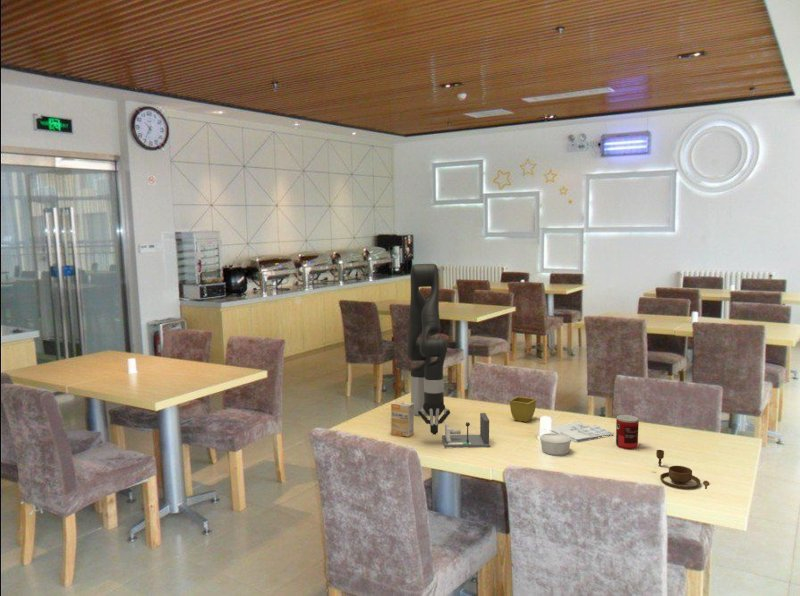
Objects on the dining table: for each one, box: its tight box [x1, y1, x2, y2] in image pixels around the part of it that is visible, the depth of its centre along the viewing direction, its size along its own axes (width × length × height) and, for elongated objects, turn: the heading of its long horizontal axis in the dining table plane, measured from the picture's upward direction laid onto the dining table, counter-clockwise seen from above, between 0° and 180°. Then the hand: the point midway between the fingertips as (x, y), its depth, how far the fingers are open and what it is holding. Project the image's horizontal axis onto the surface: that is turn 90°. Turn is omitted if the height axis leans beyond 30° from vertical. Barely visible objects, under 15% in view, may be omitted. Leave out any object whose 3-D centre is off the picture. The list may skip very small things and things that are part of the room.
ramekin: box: [539, 432, 572, 456], centre depth 239 cm, size 11×11×5 cm
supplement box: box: [390, 400, 415, 438], centre depth 259 cm, size 8×5×13 cm, turn 62°
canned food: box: [615, 414, 640, 450], centre depth 243 cm, size 8×8×11 cm
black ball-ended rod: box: [465, 421, 471, 443], centre depth 244 cm, size 2×2×8 cm
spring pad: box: [444, 421, 462, 443], centre depth 249 cm, size 10×6×5 cm, turn 1°
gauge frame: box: [441, 412, 491, 448], centre depth 249 cm, size 12×17×10 cm
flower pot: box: [509, 396, 537, 423], centre depth 277 cm, size 9×9×9 cm
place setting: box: [652, 449, 710, 490], centre depth 212 cm, size 18×20×6 cm
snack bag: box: [551, 421, 614, 443], centre depth 261 cm, size 19×20×2 cm
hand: (434, 433), depth 249 cm, fingers closed
